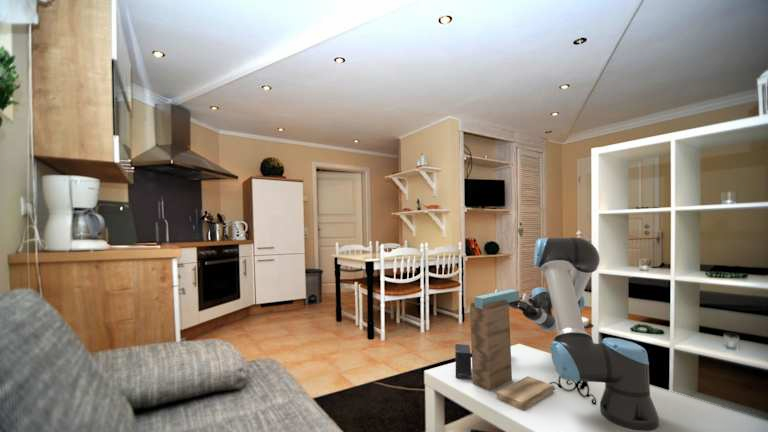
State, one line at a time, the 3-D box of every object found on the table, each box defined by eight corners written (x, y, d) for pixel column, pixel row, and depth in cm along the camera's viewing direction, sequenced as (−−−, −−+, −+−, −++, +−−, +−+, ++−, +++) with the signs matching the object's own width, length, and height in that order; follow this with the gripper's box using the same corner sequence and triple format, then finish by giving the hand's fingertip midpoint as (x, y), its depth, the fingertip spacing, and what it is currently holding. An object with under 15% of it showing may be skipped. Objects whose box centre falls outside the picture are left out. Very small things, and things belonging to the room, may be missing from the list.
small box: (472, 379, 138) (471, 352, 139) (455, 378, 140) (454, 352, 140) (470, 368, 149) (469, 344, 149) (455, 367, 150) (454, 343, 151)
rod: (519, 300, 145) (519, 290, 145) (483, 309, 131) (482, 298, 131) (511, 298, 148) (510, 289, 148) (474, 307, 134) (474, 296, 134)
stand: (511, 380, 136) (508, 300, 137) (490, 391, 128) (486, 306, 129) (494, 374, 142) (491, 297, 144) (472, 383, 134) (469, 302, 135)
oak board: (553, 392, 126) (552, 385, 126) (522, 410, 114) (522, 402, 114) (527, 382, 134) (527, 376, 134) (496, 398, 122) (496, 391, 122)
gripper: (560, 326, 144) (534, 307, 134) (507, 315, 164) (482, 298, 154) (563, 309, 147) (539, 289, 136) (511, 300, 167) (487, 283, 156)
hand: (509, 294), depth 145 cm, fingers open, 13 cm apart
